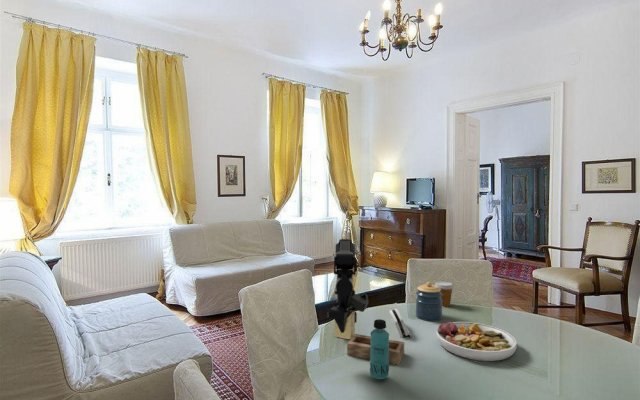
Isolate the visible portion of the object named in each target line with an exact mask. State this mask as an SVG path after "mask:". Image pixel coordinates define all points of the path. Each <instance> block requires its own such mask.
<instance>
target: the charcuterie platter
mask: <svg viewBox="0 0 640 400" xmlns="http://www.w3.org/2000/svg"><path fill="white" fill-rule="evenodd" d="M435 334H436V335H435V336H436V339H437V341H438V343H439V345H441V346H442V347H443V348H444V349H445V350H447V351H448V352H450V353H451V354H453V355H456V356H458V357H461V358H466V359H468V360H473V361H474V360H475V361H480V362H482V361H483V362H495V361H496V362H497V361H502V360H506V359H508V358H510V357H511V356H513V355H514V354H515V352H516V350H517V345H518V343H517V340H516V338H515V337H514V335H513V336H512V334H511V333H509V332H507V331H506V330H504V329H500V328H498V327H496V326H492V325H489V324H485V323H478V322H470V321H454V322H452V321H447V322H442V323H440V325H439V326H438V327H437V328H436V332H435Z"/></svg>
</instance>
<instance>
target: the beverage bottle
mask: <svg viewBox="0 0 640 400" xmlns="http://www.w3.org/2000/svg"><path fill="white" fill-rule="evenodd" d="M373 322H374V323H373V328H375V329H373V330H372V331H370V336H371V346H370V359H369V374H370V376H371V377H372V378H374V379H378V380H383V379H386V378H388V377H389V372H390V363H389V340H390V333H389V332H388V331H387V330H386V328H387V321H386V320H385V319H381V318H380V319H375V320H374V321H373Z"/></svg>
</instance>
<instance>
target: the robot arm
mask: <svg viewBox="0 0 640 400" xmlns="http://www.w3.org/2000/svg"><path fill="white" fill-rule="evenodd" d="M334 252H335V253H334V254H335V255H334V256H333V261H334V262H333V275H336V286H335V291H334V294H335V295H336V301H335V302H334V305H335V306H332V307H331V308H330V309H328V310H327V318H330V319H334V322H335V321H336V323H337V325H338V327H339V329H340V331H341V333H344V330H345V323H346V319H347V318H348V317H349V316H350V315H348V310H354V311H355V324H356V323H357V321H358V319H357V316H358V313H357V312H356V310H358V311H359V312H361V313H363V312H365V310H367V307H368V306H369V305H368V304H369V297H368V294H366V293H362V295H360V294H358V295H357V294H356V290H355V289H354V283H353V281H354V280H353V278H354V277H353V276H354V275H356V273H357V272H358V259H357V258H356V244H355V243H353V242H352V239H350V238H341V239H339V240H338V242H337V243H336V244H335V251H334Z"/></svg>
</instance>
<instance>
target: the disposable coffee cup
mask: <svg viewBox="0 0 640 400" xmlns="http://www.w3.org/2000/svg"><path fill="white" fill-rule="evenodd" d="M434 285H435V286H437V287H438V288H440V289H441V291H440V292H441V293H442V294H443V296H442V297H441V298H442V301H443V302H442V306H443V307H442V308H447V307H448V306H449V307H450V306H451V301H452V293H453V288H454V285H453V283H452V282H450V281H436V282H435V284H434Z"/></svg>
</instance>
